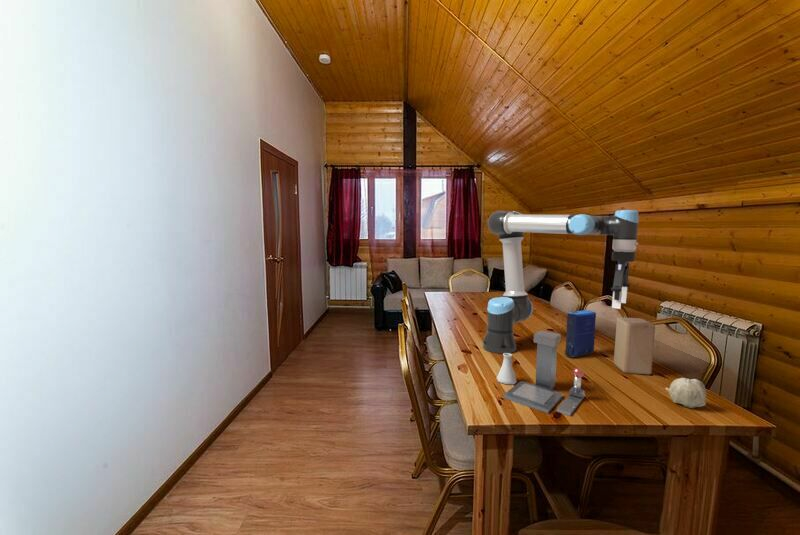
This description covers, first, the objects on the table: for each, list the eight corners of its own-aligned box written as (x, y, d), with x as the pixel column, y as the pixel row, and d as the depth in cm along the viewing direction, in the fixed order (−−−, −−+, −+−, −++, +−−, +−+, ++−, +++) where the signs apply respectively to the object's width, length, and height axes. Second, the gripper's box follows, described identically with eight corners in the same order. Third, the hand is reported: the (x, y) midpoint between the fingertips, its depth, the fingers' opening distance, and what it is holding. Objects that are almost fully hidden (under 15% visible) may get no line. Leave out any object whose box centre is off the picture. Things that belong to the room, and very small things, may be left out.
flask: (517, 378, 125) (518, 352, 124) (517, 386, 118) (518, 359, 117) (496, 375, 127) (497, 350, 126) (495, 383, 121) (496, 356, 120)
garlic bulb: (701, 413, 105) (719, 387, 103) (691, 417, 101) (710, 390, 98) (668, 393, 113) (684, 368, 110) (658, 395, 108) (674, 369, 105)
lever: (569, 393, 110) (570, 368, 109) (572, 390, 113) (573, 364, 112) (581, 397, 108) (582, 371, 107) (584, 393, 110) (585, 367, 109)
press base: (503, 397, 110) (505, 341, 108) (528, 378, 125) (530, 328, 123) (566, 420, 97) (570, 356, 95) (585, 395, 112) (589, 339, 110)
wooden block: (652, 375, 128) (656, 324, 126) (623, 373, 130) (627, 322, 128) (639, 365, 138) (643, 317, 136) (612, 363, 140) (615, 316, 138)
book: (572, 359, 144) (575, 313, 142) (562, 355, 149) (564, 311, 147) (595, 354, 150) (598, 310, 148) (584, 350, 155) (586, 308, 153)
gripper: (631, 252, 117) (625, 312, 119) (639, 250, 135) (634, 301, 138) (606, 251, 121) (601, 309, 124) (617, 249, 140) (613, 299, 142)
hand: (619, 305), depth 131 cm, fingers open, 13 cm apart
